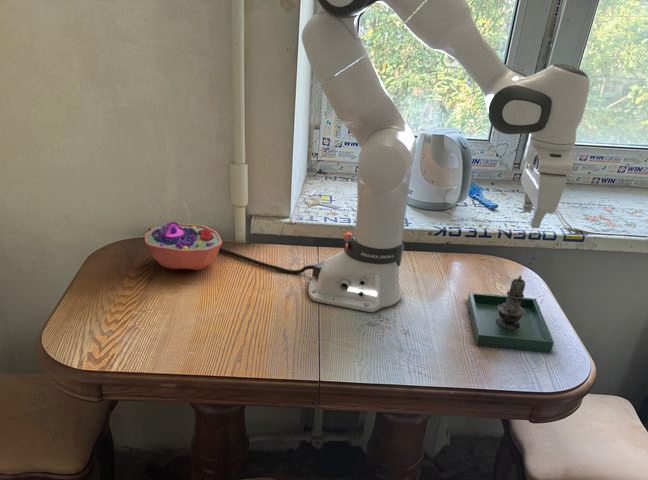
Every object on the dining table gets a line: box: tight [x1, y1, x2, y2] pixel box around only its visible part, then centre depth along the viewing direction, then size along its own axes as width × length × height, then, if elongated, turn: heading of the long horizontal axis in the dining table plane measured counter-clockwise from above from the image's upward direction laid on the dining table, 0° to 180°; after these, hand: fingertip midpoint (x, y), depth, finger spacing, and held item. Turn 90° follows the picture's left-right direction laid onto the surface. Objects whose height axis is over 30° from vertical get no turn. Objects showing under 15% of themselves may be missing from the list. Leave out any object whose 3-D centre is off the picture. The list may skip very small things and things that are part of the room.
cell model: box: [144, 221, 223, 271], centre depth 151 cm, size 17×20×11 cm
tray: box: [466, 292, 555, 353], centre depth 135 cm, size 16×20×3 cm
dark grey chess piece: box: [496, 275, 526, 329], centre depth 133 cm, size 6×6×12 cm
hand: (530, 218), depth 129 cm, fingers open, 8 cm apart
